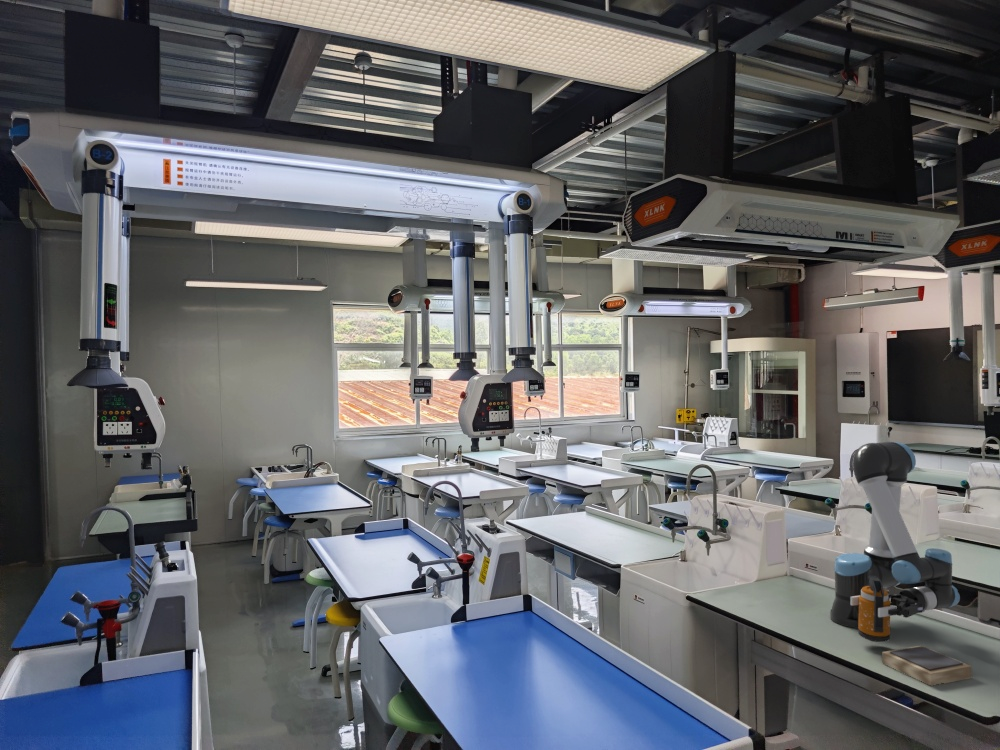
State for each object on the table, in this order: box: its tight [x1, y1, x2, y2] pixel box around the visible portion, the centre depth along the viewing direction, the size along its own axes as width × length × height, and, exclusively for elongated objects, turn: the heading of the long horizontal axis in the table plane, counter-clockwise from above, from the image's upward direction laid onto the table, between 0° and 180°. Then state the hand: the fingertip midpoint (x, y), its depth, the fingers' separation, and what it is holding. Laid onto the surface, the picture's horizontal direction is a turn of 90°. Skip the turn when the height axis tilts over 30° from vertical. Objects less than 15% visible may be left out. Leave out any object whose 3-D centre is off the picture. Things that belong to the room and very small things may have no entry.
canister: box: [857, 576, 891, 643], centre depth 215 cm, size 9×11×20 cm
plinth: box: [881, 645, 973, 686], centre depth 198 cm, size 16×16×4 cm
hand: (864, 606), depth 214 cm, fingers closed on canister, 10 cm apart
